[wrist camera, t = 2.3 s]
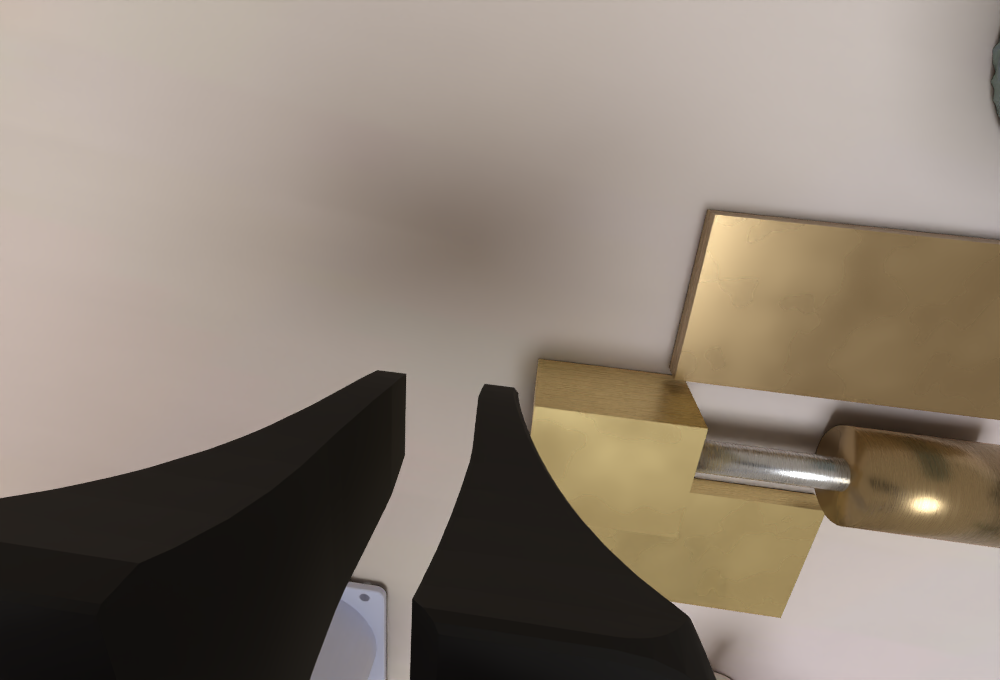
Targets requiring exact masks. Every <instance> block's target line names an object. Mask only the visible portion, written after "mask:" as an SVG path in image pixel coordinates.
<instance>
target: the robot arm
mask: <svg viewBox="0 0 1000 680" xmlns="http://www.w3.org/2000/svg"><path fill="white" fill-rule="evenodd" d="M518 394H519V393H518V392H517V391H516V390H515V388H513V387H505V386H497V385H489V384H484V386H483V388H482V390H481V392H480V394H479V397H478V406H477V414H476V423H475V432H474V441H473V449H472V454H471V459H470V463H469V466H468V469H467V472H466V475H465V478H464V481H463V484H462V487H461V490H460V493H459V495H458V498H457V501H456V503H455V506H454V509H453V512H452V514H451V517H450V519H449V522H448V524H447V527H446V529H445V531H444V534H443V536H442V539H441V541H440V544H439V546H438V548H437V550H436V553H435V555H434V557H433V559H432V561H431V563H430V565H429V567H428V569H427V571H426V573H425V575H424V577H423V579H422V582H421V584H420V586H419V587H418V589H417V591H416V593H415V595H414V597H413V599H412V629H411V663H410V680H716V677H715V675H714V672H713V670H712V668H711V665H710V663H709V660H708V658H707V655H706V653H705V651H704V648H703V646H702V644H701V641H700V639H699V637H698V634H697V632H696V630H695V628H694V625H693V623H692V621H691V619H690V618H689V616H688V615H686V614H685V613H684V612H683V611H681V610H680V609H679V608H677V607H676V606H675V605H674V604H672V603H671V602H670V601H669V600H667V599H666V598H665V597H664V596H662V595H661V594H660V593H659V592H657V591H656V590H655V589H654V588H652V587H651V586H650V585H648V584H647V583H646V582H645V581H643V580H642V579H641V578H640V577H638V576H637V575H636V574H635V573H634V572H633V571H632V570H631V569H630V568H628V567H627V566H626V565H625V564H624V563H623V562H622V561H621V560H620V559H619V558H618V557H617V556H616V555H615V554H613V553H612V552H611V551H610V550H609V549H608V548H607V547H606V546H605V545H604V544H603V542H602V541H601V540H600V539H599V538H598V537H597V536H596V535H595V534H594V533H593V531H592V530H591V529H590V528H589V527H588V526H587V525H586V524H585V523H584V521H583V520H582V519H581V518H580V517H579V515H578V514H577V513H576V511H575V510H574V509H573V508H572V506H571V505H570V504H569V502H568V501H567V499H566V498H565V497H564V495H563V494H562V492H561V491H560V489H559V488H558V486H557V485H556V483H555V482H554V480H553V478H552V477H551V475H550V473H549V472H548V470H547V468H546V466H545V465H544V463H543V461H542V459H541V457H540V455H539V453H538V451H537V449H536V447H535V445H534V443H533V441H532V438H531V436H530V434H529V431H528V429H527V426H526V424H525V421H524V418H523V415H522V412H521V408H520V404H519V398H518ZM405 411H406V374H403V373H395V372H387V371H379V370H378V371H375V372H373V373H371V374H369V375H367V376H365V377H363V378H361V379H359V380H357V381H355V382H354V383H352V384H350V385H348V386H346V387H344V388H343V389H341V390H339V391H337V392H335V393H333V394H332V395H330V396H328V397H326V398H324V399H322V400H320V401H319V402H317V403H315V404H313V405H311V406H309V407H307V408H305V409H303V410H301V411H299V412H297V413H295V414H293V415H290V416H288V417H286V418H284V419H282V420H280V421H278V422H276V423H274V424H272V425H270V426H267V427H265V428H263V429H261V430H258V431H256V432H253V433H251V434H249V435H246V436H244V437H241V438H238V439H236V440H233V441H230V442H228V443H225V444H222V445H220V446H217V447H214V448H211V449H208V450H206V451H203V452H199V453H196V454H193V455H189V456H186V457H183V458H179V459H176V460H173V461H169V462H166V463H163V464H159V465H156V466H153V467H150V468H146V469H142V470H138V471H134V472H130V473H126V474H122V475H118V476H114V477H110V478H105V479H101V480H96V481H92V482H87V483H83V484H78V485H73V486H68V487H63V488H58V489H53V490H48V491H42V492H36V493H30V494H24V495H18V496H12V497H5V498H0V680H386V592H385V590H384V589H383V588H381V587H379V586H375V585H368V584H362V583H355V582H349V580H350V578H351V576H352V574H353V572H354V570H355V568H356V566H357V564H358V562H359V560H360V558H361V556H362V554H363V552H364V550H365V548H366V546H367V544H368V542H369V540H370V538H371V536H372V534H373V532H374V530H375V528H376V526H377V524H378V522H379V520H380V518H381V516H382V514H383V512H384V510H385V507H386V505H387V503H388V501H389V499H390V497H391V495H392V492H393V489H394V486H395V483H396V480H397V477H398V474H399V471H400V468H401V465H402V462H403V459H404V456H405Z"/></svg>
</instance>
